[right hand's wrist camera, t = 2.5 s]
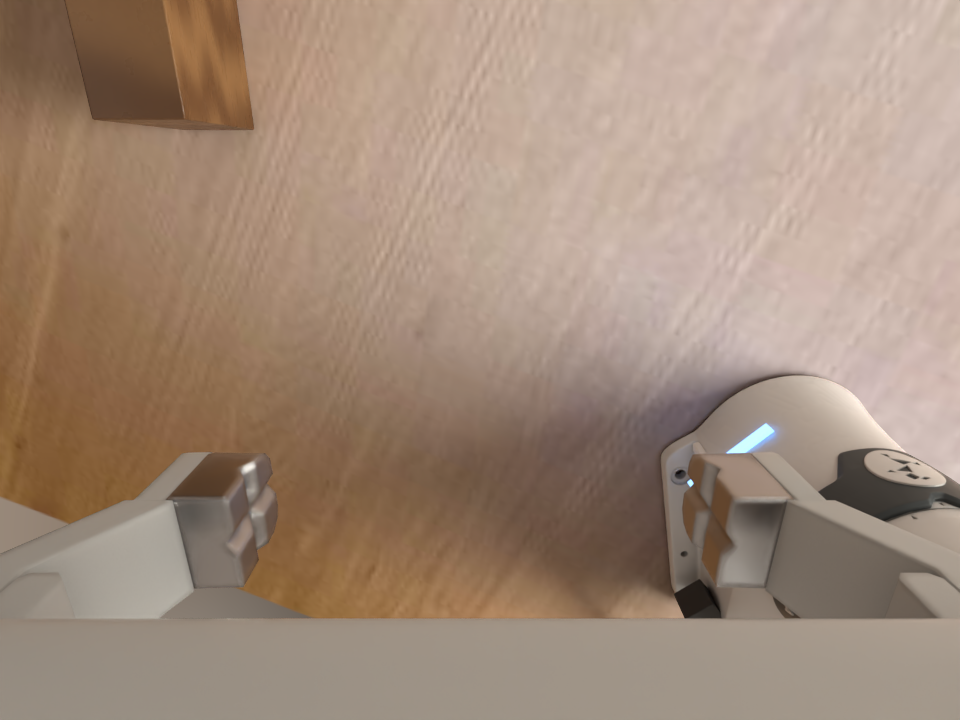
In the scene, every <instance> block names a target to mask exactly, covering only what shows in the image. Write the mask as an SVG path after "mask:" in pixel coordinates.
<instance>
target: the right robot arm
mask: <svg viewBox="0 0 960 720" xmlns="http://www.w3.org/2000/svg"><path fill="white" fill-rule="evenodd" d="M678 470H682V472H681V473H679V474H675V473H676V472H677V471H678ZM661 471H662V483H663V495H664V506H665V518H666V530H667V541H668V553H669V565H670V576H671V584H672V588H673V590H674V591H675V593H674V595H675V598H676V600H677V602H678V604H679V607H680V609H681V611H682V613H683V615H684V618H592V619H346V618H307V619H303V618H301V619H300V618H299V619H298V618H296V619H295V618H293V619H292V618H282V619H281V618H279V619H278V618H277V619H275V618H274V619H273V618H268V619H267V618H263V619H262V618H260V619H259V618H160V617H161V616H162V615H164V614H165V613H166V612H168V611H169V610H170V609H172V608H173V607H174V606H175V605H177V604H178V603H179V602H181V601H182V600H183V599H185V598H186V597H187V596H188V595H190V594H191V593H192V592H194V588H227V587H244V585H245V583H246V582H247V580H248V578H249V576H250V575H251V573H252V571H253V569H254V567H255V566H256V564H257V562H258V560H259V559H258V553H257V550H258V549H260V548H261V547H263V546H264V545H266V544H267V543H268V542H269V540H270V539H271V537H272V535H273V533H274V530H275V526H276V521H277V517H278V503H277V497H276V493H275V492H274V491H273V490H272V489H271V488H270V487H269V486H268V485H267V484H266V483H267V482H268V480H269V479H270V477H271V476H272V474H273V472H272V467H271V462H270V458H269V457H268V456H267V455H266V454H265V453H217V452H215V453H212V452H189V453H183V454H181V455H180V456H179V457H178V458H177V459H176V460H175V461H174V462H173V463H172V464H171V465H170V466H169V467H168V468H167V469H166V470H165V471H164V472H163V473H161V474H160V475H159V476H158V477H157V478H156V479H155V480H154V481H153V482H152V483H151V484H150V485H149V486H148V487H147V488H146V489H145V490H144V491H143V492H142V493H141V494H140V495H139V496H138V497H137V498H135V499H134V500H124V501H122V502H120V503H117V504H115V505H113V506H110V507H108V508H106V509H103V510H101V511H99V512H96V513H94V514H92V515H90V516H87V517H85V518H83V519H80V520H78V521H76V522H73V523H71V524H69V525H66V526H64V527H62V528H59V529H57V530H55V531H52V532H50V533H48V534H45V535H43V536H41V537H38V538H36V539H34V540H31V541H29V542H27V543H24V544H22V545H20V546H17V547H15V548H13V549H10V550H8V551H6V552H4V553H1V554H0V720H960V484H958V483H957V482H955V481H954V480H952V479H951V478H949V477H948V476H946V475H944V474H943V473H941V472H940V471H938V470H936V469H935V468H933V467H931V466H929V465H928V464H926V463H924V462H922V461H920V460H918V459H917V458H915V457H913V456H911V455H909V454H907V453H906V452H905V451H904V450H903V449H902V448H901V447H900V446H899V445H898V444H897V443H895V442H894V441H893V440H892V439H891V438H890V437H889V436H888V435H887V434H886V433H885V432H884V431H883V430H882V428H881V427H880V426H879V425H878V424H877V423H876V422H875V421H874V419H873V418H872V417H871V416H870V415H869V413H868V412H867V411H866V409H865V408H864V406H863V405H862V404H861V402H860V401H859V400H858V399H857V398H856V397H855V396H854V395H853V394H852V393H851V392H850V391H849V390H847V389H846V388H844V387H843V386H841V385H839V384H837V383H835V382H833V381H830V380H827V379H823V378H820V377H814V376H805V375H793V376H783V377H777V378H773V379H769V380H765V381H762V382H760V383H757V384H754V385H752V386H750V387H748V388H746V389H744V390H742V391H740V392H738V393H737V394H735V395H734V396H732V397H731V398H729V399H728V400H727V401H725V402H724V403H723V404H722V405H720V406H719V407H718V408H717V409H716V410H715V411H714V412H713V413H712V414H711V415H710V416H709V417H708V418H707V420H706V421H705V422H704V423H703V424H702V425H701V426H700V427H699V428H698V429H697V430H695V431H694V432H693V433H691V434H689V435H687V436H685V437H683V438H681V439H679V440H677V441H676V442H674V443H672V444H671V445H669V446H668V447H667V448H666V449H665V450H664V451H663V453H662V455H661Z"/></svg>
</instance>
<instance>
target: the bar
mask: <svg viewBox="0 0 960 720" xmlns="http://www.w3.org/2000/svg"><path fill="white" fill-rule="evenodd" d="M65 4H66V9H67V13H68V17H69V21H70V26H71V30H72V34H73V38H74V42H75V47H76V51H77V55H78V59H79V64H80V68H81V72H82V76H83V81H84V85H85V89H86V93H87V98H88V102H89V106H90V110H91V115H92V118H93V119H94V120H102V121H111V122H120V123H129V124H138V125H146V126H155V127H164V128H173V129H182V130H253V129H254V125H253V118H252V111H251V104H250V96H249V89H248V82H247V75H246V67H245V60H244V53H243V46H242V38H241V31H240V24H239V17H238V10H237V2H236V0H65Z"/></svg>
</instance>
